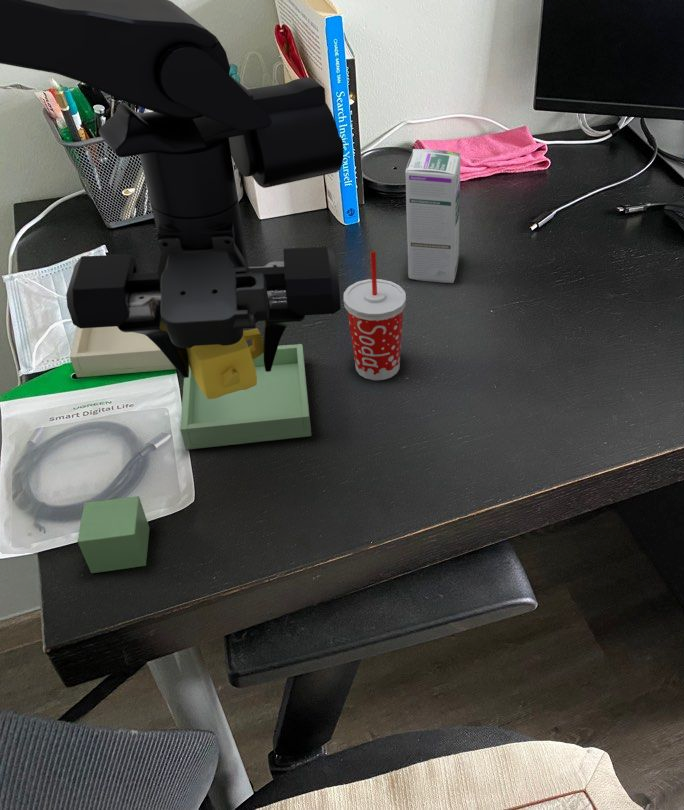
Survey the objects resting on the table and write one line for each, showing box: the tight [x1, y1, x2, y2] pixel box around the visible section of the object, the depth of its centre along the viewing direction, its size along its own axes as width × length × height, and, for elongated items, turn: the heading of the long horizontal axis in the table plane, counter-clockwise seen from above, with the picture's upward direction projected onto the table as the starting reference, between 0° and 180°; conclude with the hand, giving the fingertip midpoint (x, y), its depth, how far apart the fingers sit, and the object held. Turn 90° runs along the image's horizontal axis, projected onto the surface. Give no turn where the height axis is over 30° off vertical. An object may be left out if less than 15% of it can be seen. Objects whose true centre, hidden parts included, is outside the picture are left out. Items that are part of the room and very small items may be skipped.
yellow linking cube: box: [186, 328, 264, 399], centre depth 66 cm, size 8×6×5 cm
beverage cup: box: [343, 250, 407, 381], centre depth 82 cm, size 6×6×14 cm
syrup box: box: [404, 148, 462, 284], centre depth 97 cm, size 6×6×14 cm
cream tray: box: [69, 326, 177, 378], centre depth 85 cm, size 10×11×3 cm
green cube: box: [77, 495, 151, 574], centre depth 65 cm, size 4×4×4 cm
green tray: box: [179, 343, 312, 451], centre depth 80 cm, size 11×11×3 cm
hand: (227, 371), depth 67 cm, fingers closed on yellow linking cube, 6 cm apart
